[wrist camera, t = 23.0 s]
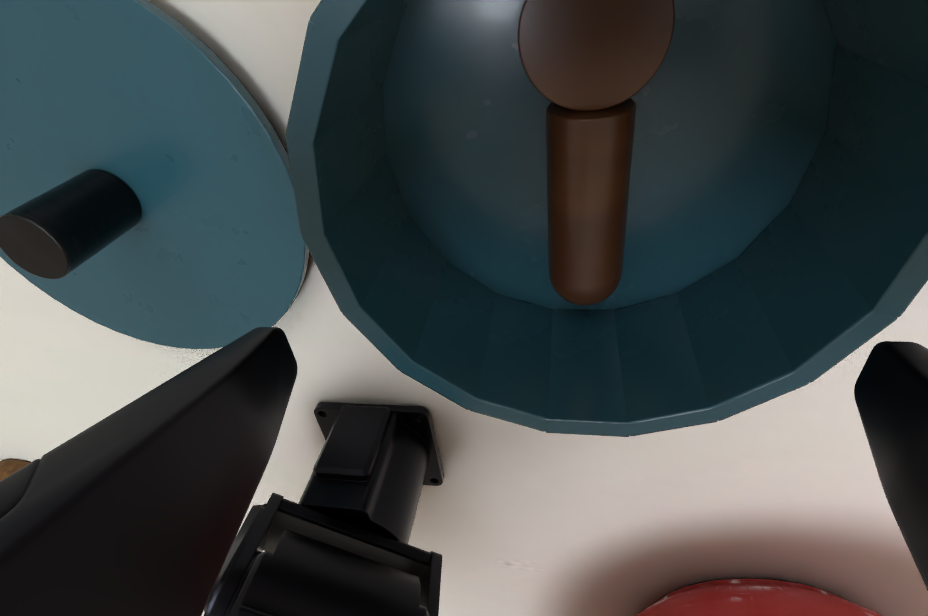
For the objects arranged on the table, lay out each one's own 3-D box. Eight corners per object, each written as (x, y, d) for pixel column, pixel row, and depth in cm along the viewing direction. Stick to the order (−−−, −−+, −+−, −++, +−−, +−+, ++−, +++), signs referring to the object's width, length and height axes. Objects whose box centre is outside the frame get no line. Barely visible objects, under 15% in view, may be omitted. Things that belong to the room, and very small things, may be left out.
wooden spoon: (635, 279, 20) (643, 320, 18) (532, 279, 21) (528, 319, 19) (672, -73, 13) (691, -71, 11) (519, -53, 14) (511, -48, 12)
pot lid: (356, 338, 25) (316, 418, 21) (76, 333, 28) (-5, 402, 24) (225, -81, 15) (105, -80, 11) (-179, -16, 18) (-384, 3, 14)
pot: (781, 316, 21) (852, 449, 15) (408, 313, 24) (364, 423, 18) (958, -227, 11) (1273, -340, 6) (311, -119, 14) (173, -137, 9)
